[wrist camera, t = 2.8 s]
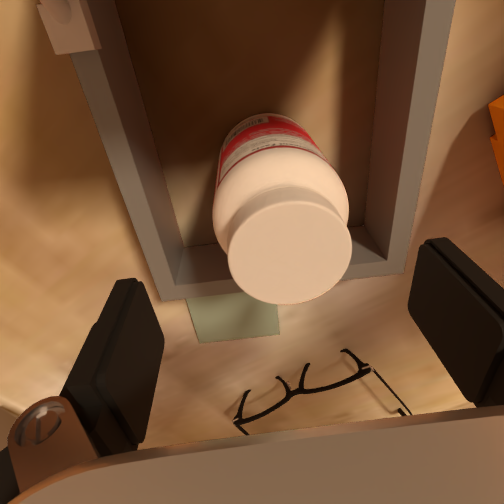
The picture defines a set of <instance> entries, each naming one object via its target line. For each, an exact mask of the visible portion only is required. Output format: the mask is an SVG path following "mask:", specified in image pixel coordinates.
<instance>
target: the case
mask: <svg viewBox="0 0 504 504" xmlns="http://www.w3.org/2000/svg"><path fill="white" fill-rule="evenodd" d="M39 1H40V2H41V3H42V4H38V5H36V6H37V9H38V11H39V14H40V16H41V19H42V21H43V24H44V26H45V29H46V32H47V34H48V37H49V39H50V42H51V44H52V47H53V49H54V52H55V54H56V55H60V54H67V53H69V54H70V57H71V59H72V62H73V65H74V67H75V70H76V73H77V75H78V78H79V81H80V84H81V86H82V89H83V92H84V94H85V97H86V100H87V102H88V105H89V108H90V110H91V113H92V116H93V118H94V121H95V124H96V126H97V129H98V132H99V135H100V137H101V140H102V143H103V145H104V148H105V151H106V153H107V156H108V159H109V161H110V164H111V167H112V169H113V172H114V175H115V177H116V180H117V183H118V185H119V188H120V191H121V194H122V196H123V199H124V202H125V204H126V207H127V210H128V212H129V215H130V218H131V220H132V223H133V226H134V228H135V231H136V234H137V236H138V239H139V242H140V245H141V247H142V250H143V253H144V255H145V258H146V261H147V263H148V266H149V269H150V271H151V274H152V277H153V279H154V282H155V285H156V287H157V290H158V293H159V295H160V298H161V301H171V300H180V299H188V298H197V297H205V296H214V295H223V294H231V293H240V292H244V291H243V290H242V289H241V288H240V287H239V286H238V285H237V283H236V282H235V280H234V279H233V277H232V275H231V272H230V270H229V266H228V258H227V254H226V253H225V251H224V250H223V249H222V247H221V246H220V244H219V243H216V244H207V245H199V246H191V247H184V245H183V241H182V238H181V234H180V231H179V227H178V224H177V220H176V217H175V213H174V210H173V206H172V203H171V199H170V195H169V192H168V188H167V185H166V181H165V178H164V174H163V171H162V167H161V164H160V160H159V157H158V153H157V149H156V146H155V142H154V139H153V135H152V132H151V128H150V125H149V121H148V118H147V114H146V111H145V107H144V103H143V100H142V96H141V93H140V89H139V86H138V82H137V79H136V75H135V72H134V68H133V65H132V61H131V57H130V54H129V50H128V47H127V43H126V40H125V36H124V33H123V29H122V26H121V22H120V19H119V15H118V12H117V8H116V4H115V1H114V0H39ZM455 2H456V0H385V2H384V13H383V24H382V35H381V46H380V57H379V67H378V78H377V89H376V100H375V111H374V121H373V132H372V143H371V154H370V165H369V175H368V186H367V197H366V208H365V219H364V226H356V227H348V230H349V233H350V236H351V241H352V255H351V259H350V262H349V265H348V268H347V270H346V271H345V273H344V275H343V276H342V278H341V279H340V280H339V281H343V280H352V279H360V278H369V277H377V276H386V275H395V274H403V273H404V269H405V263H406V258H407V253H408V248H409V242H410V237H411V232H412V227H413V221H414V216H415V211H416V206H417V201H418V195H419V190H420V185H421V180H422V174H423V169H424V164H425V159H426V153H427V148H428V143H429V138H430V133H431V127H432V122H433V117H434V112H435V106H436V101H437V96H438V91H439V85H440V80H441V75H442V70H443V65H444V59H445V54H446V49H447V44H448V38H449V33H450V28H451V23H452V17H453V12H454V7H455Z"/></svg>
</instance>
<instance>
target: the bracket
mask: <svg viewBox="0 0 504 504" xmlns="http://www.w3.org/2000/svg"><path fill="white" fill-rule="evenodd" d="M488 107H489V110H490V114H491V118H492V121H493V125H494V129H495V132H496V134H495V135H493V136H491V137H490V140H491V144H492V147H493V151H494V154H495V158H496V161H497V165H498V168H499V172H500V175H501V179H502V182H503V186H504V95H503V96H501V97H499V98H498V99H496V100H495V101H493V102H491V103H490V104H488Z"/></svg>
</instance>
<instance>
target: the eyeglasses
mask: <svg viewBox="0 0 504 504" xmlns="http://www.w3.org/2000/svg"><path fill="white" fill-rule="evenodd" d="M340 352H346V353H348V354H349V355H350V356H351V357H352V358H353V359H354V360H355V361H356V363H357V365H358V368H359V370H358V372H357V373H356V374H355V375H353V376H351V377H349V378H346V379H344V380H342V381H340V382H337V383H334V384H331V385H328V386H324V387H320V388H314V389H304V378H305V374H306V371H307V369H308V367H309V365H310V363H307V364H306V365H305V367H304V369H303V372H302V374H301V378H300V382H299V388H297V389H295V390H292V391H291V390H290V389H291V387H290V386H289V385H290V383H289V381H287V382H285V381H284V380H283V379H282V378H281V377H279V376H277V377H275V378H276V379H279V380H280V381H281V382H282V383H283V385H284V387H285V390H286V396H285V398H284V399H282V400H281V401H280V402H278V403H277V404H275V405H274V406H272V407H271V408H269V409H267V410H265V411H264V412H262V413H259V414H257V415H255V416H252V417H249V418H245V419H242V410H243V406H244V402H245V399H246V397H247V395H248V393H249V392H250V391H251V390H247V391H246V392H245V393H244V395H243V398H242V401H241V403H240V406H239V409H238V413H237V415H236V416H235V417H234V419H233V420H232V422H233V424H234V425H235V426H236V427H237V428H238V429H239V430H240V431H242V432H243V433H244V434H245V435H249V434H248V433H247V432H246V431H245V430H244V429H243V428H242V427H241V426H240V425H242V424H245V423H248V422H251V421H254V420H256V419H259V418H261V417H263V416H265V415H267V414H269V413H270V412H272V411H274V410H275V409H277V408H279V407H280V406H282V405H283V404H285V403H286V402H287V401H289V400H290V398H291V397H293V396H295V395H298V394H311V393H317V392H322V391H326V390H330V389H333V388H337V387H340V386H342V385H345V384H347V383H350V382H352V381H354V380H356V379H359V378H361V377H363V376H365V375H366V374H368V373H370V372H371V371H373V372H374V373H375V374H376V375H377V376H378V378H379V379H380V380H381V381H382V382H383V383H384V384H385V385H386V387H387V388H388V389H389V390H390V391H391V392H392V393H393V394H394V396H395V397H396V398H397V399H398V400H399V401H400V402H401V404H402V405H403V406H404V407H405V408H406V409H407V411H408V412H409V414H410V415H412V413H411V412H410V410H409V409H408V408H407V407H406V405H405V404H404V403H403V402H402V401H401V400H400V398H399V397H398V396H397V395H396V394H395V393H394V391H393V390H392V389H391V388H390V387H389V386H388V384H387V383H386V382H385V381H384V380H383V379H382V377H381V376H380V375H379V374H378V373H377V372H376V370H375V369H374V368H373V367H372V366H370V365H369V364H367V363H366V364H365V363H363V362H361V361H360V360H359V359H358V358H357V357H356V356H355V355H354V354H353V353H352V352H351V351H349V350H348V349H343V350H341V351H340ZM288 386H289V387H288ZM398 412H399V413H400V415H401V416H407V415H406V414H405V413H404V412H403V411H402V409H401V408H399V409H398Z"/></svg>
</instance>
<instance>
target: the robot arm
mask: <svg viewBox="0 0 504 504" xmlns="http://www.w3.org/2000/svg"><path fill="white" fill-rule="evenodd" d="M408 311H409V313H410V315H411V317H412V318H413V320H414V321H415V323H416V324H417V326H418V327H419V329H420V330H421V332H422V333H423V335H424V336H425V338H426V339H427V341H428V342H429V344H430V346H431V347H432V349H433V350H434V352H435V353H436V355H437V356H438V358H439V359H440V361H441V362H442V364H443V365H444V367H445V368H446V370H447V371H448V373H449V374H450V376H451V377H452V379H453V380H454V382H455V383H456V385H457V386H458V388H459V389H460V391H461V392H462V394H463V395H464V397H465V398H466V400H468V401H469V402H473V403H474V404H475V406H476V407H477V408H469V409H460V410H451V411H443V412H434V413H426V414H417V415H409V416H400V417H392V418H383V419H375V420H367V421H359V422H350V423H342V424H334V425H326V426H318V427H310V428H302V429H293V430H285V431H277V432H269V433H262V434H254V435H246V436H238V437H230V438H223V439H215V440H207V441H199V442H191V443H184V444H177V445H170V446H164V447H157V448H150V449H143V450H137V448H138V444H139V443H142V442H143V441H144V439H145V435H146V430H147V425H148V421H149V416H150V411H151V406H152V402H153V397H154V392H155V387H156V383H157V378H158V373H159V369H160V364H161V359H162V354H163V350H164V335H163V333H162V330H161V327H160V325H159V322H158V320H157V317H156V315H155V312H154V309H153V307H152V304H151V302H150V299H149V297H148V294H147V291H146V289H145V286H144V284H143V282H142V281H139V282H138V281H137V279H136V278H128V279H121V280H117V281H116V282H115V285H114V287H113V289H112V291H111V293H110V295H109V297H108V299H107V302H106V304H105V306H104V308H103V310H102V312H101V314H100V317H99V319H98V321H97V322H96V323H95V324H94V325H93V326H92V328H91V330H90V332H89V334H88V336H87V338H86V341H85V343H84V345H83V347H82V349H81V351H80V353H79V355H78V357H77V359H76V361H75V364H74V366H73V368H72V370H71V372H70V374H69V376H68V378H67V380H66V382H65V385H64V387H63V389H62V391H61V393H60V395H59V396H51V397H48V398H45V399H42V400H40V401H38V402H36V403H34V404H33V405H31V406H30V407H29V408H28V409H26V410H25V411H24V412H23V413H22V414H21V415H20V416H19V417H18V418H17V419H16V421H15V422H14V424H13V425H12V427H11V429H10V431H9V434H8V437H7V447H6V448H4V449H3V450H2V451H0V504H504V289H503V288H502V287H501V286H500V285H499V284H498V283H497V282H495V281H494V280H493V279H492V278H491V277H490V276H489V275H488V274H487V273H486V272H484V271H483V270H482V269H481V268H480V267H479V266H478V265H477V264H476V263H474V262H473V261H472V260H471V259H470V258H469V257H468V256H467V255H466V254H465V253H463V252H462V251H461V250H460V249H459V248H458V247H457V246H456V245H455V244H453V243H452V242H451V241H450V240H449V239H448V238H445V237H443V238H435V239H428V240H426V241H425V242H424V244H423V245H421V246H420V247H419V251H418V256H417V261H416V266H415V271H414V276H413V281H412V286H411V291H410V296H409V301H408Z"/></svg>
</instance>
